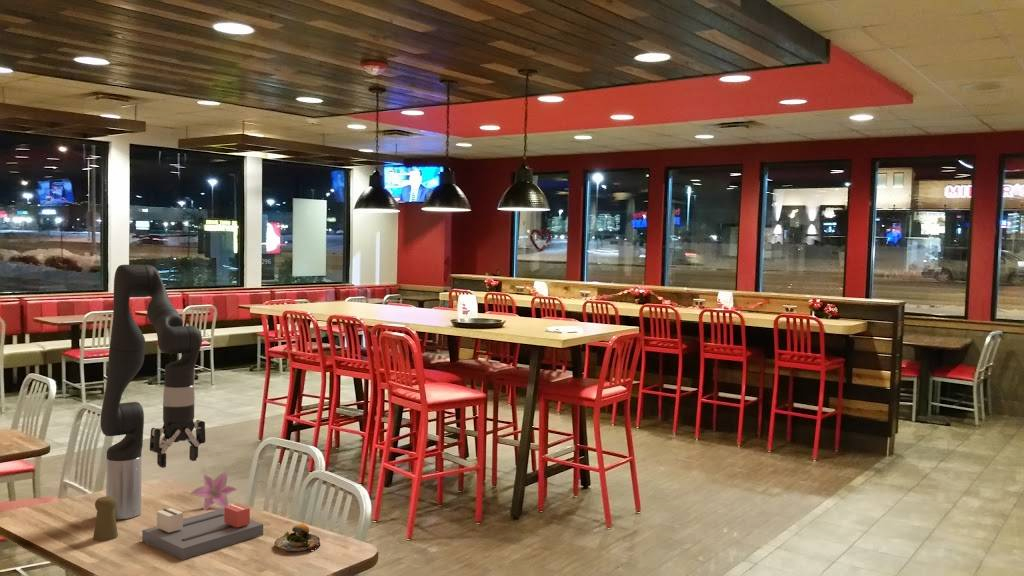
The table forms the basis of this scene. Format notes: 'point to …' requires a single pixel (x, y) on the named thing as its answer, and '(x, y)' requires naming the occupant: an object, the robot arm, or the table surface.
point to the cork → (105, 519)
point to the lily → (214, 490)
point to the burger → (298, 539)
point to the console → (200, 535)
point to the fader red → (237, 515)
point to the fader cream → (169, 520)
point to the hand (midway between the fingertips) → (177, 463)
